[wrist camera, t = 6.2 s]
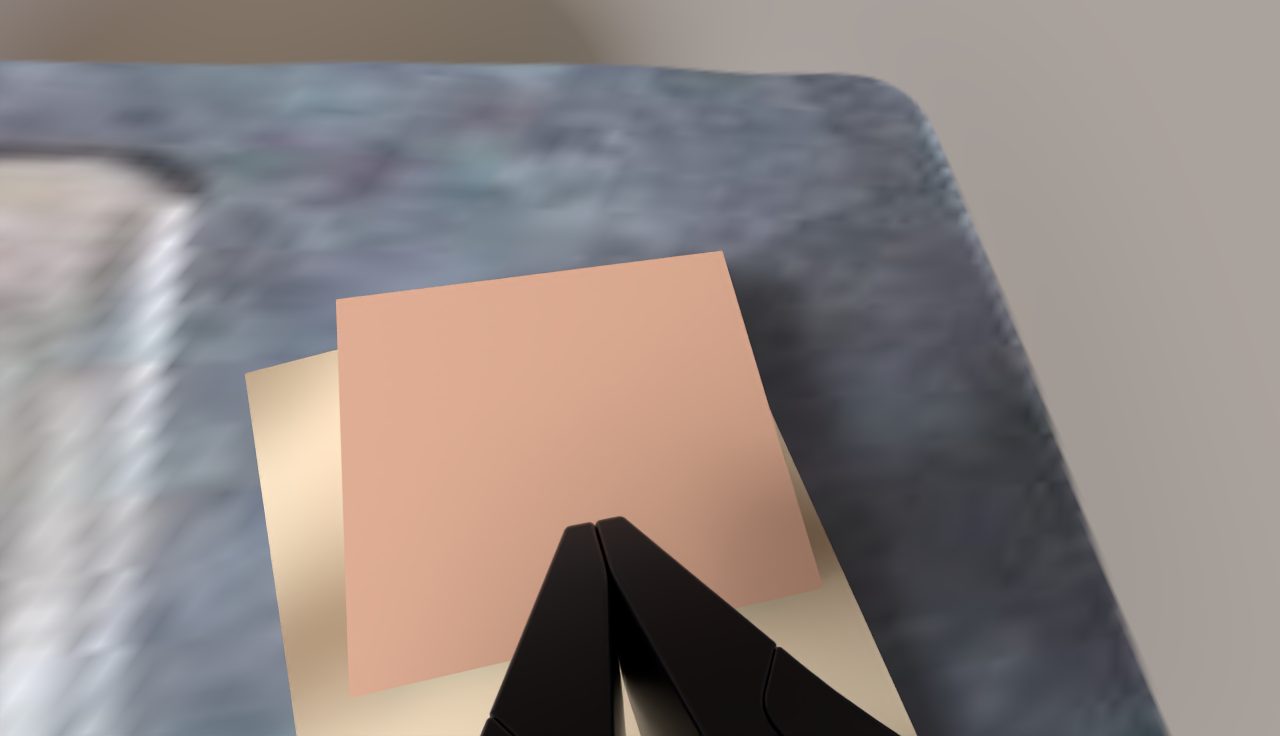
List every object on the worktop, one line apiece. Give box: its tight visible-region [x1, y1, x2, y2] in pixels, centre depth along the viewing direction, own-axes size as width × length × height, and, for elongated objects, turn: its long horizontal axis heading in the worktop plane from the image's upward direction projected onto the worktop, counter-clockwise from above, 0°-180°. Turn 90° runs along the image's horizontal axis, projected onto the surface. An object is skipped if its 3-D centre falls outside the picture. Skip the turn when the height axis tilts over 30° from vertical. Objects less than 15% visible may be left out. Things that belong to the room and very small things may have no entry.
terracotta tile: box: [336, 251, 823, 698], centre depth 14 cm, size 2×9×8 cm
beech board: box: [245, 350, 917, 736], centre depth 14 cm, size 14×12×1 cm
